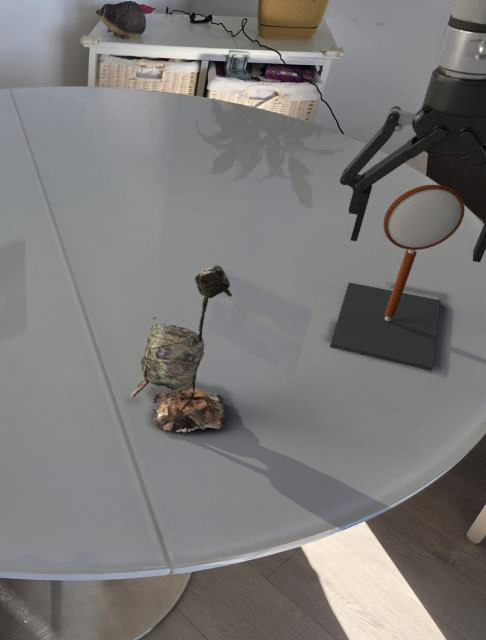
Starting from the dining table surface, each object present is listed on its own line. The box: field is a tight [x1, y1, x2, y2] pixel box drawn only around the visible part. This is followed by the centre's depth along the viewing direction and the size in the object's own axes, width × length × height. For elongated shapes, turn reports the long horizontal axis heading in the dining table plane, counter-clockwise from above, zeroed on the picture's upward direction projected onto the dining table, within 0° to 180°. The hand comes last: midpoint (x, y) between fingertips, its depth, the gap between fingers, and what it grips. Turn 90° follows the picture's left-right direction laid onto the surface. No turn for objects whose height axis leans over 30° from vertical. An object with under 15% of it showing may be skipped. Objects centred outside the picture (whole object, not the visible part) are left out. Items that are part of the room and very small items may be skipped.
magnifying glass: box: [382, 184, 465, 321], centre depth 81 cm, size 9×2×20 cm, turn 80°
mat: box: [329, 282, 441, 372], centre depth 88 cm, size 12×16×1 cm
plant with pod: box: [130, 264, 233, 433], centre depth 72 cm, size 8×11×20 cm
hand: (413, 246), depth 80 cm, fingers open, 13 cm apart
